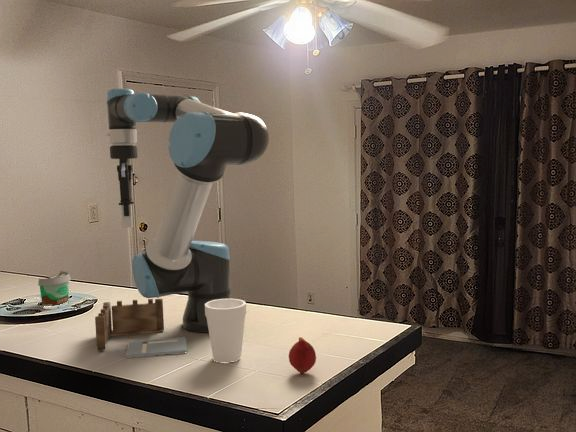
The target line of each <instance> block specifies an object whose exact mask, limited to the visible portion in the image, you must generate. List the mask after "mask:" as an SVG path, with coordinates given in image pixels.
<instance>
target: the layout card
mask: <svg viewBox="0 0 576 432" xmlns="http://www.w3.org/2000/svg"><path fill="white" fill-rule="evenodd" d="M127 344H128V345H127V350H126V354H125V357H126V359H132V358H131V357H135V358H143V357H144V358H145V356H147V357H154V356H155V355H159V356H166V355H165V354H171V355H176V354H175V353H183V354H186V353H185V352H187V353H188V349H187V337H186V336H181V337H179V336H178V337H168V338H156V339H155V338H154V339H143V340H131V341H129V342H128V343H127ZM155 357H156V356H155Z"/></svg>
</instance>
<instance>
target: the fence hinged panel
mask: <svg viewBox="0 0 576 432" xmlns="http://www.w3.org/2000/svg"><path fill="white" fill-rule="evenodd" d="M94 323H95V325H94V326H95V337H96V338H95V339H96V342H95V343H96V350H97V351H100V352H101V351H105V350H106V344H107V342H108V339H109V338H110V336H109V335H110V320H109V308H108V305H103V304H102V308H101V309H100V313H98V314H97V315H96V316H95V317H94Z"/></svg>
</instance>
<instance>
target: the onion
mask: <svg viewBox="0 0 576 432" xmlns="http://www.w3.org/2000/svg"><path fill="white" fill-rule="evenodd" d="M316 354H317V353H316V351H315V349H314V346H313V345H312V344H311V343H309V342H308V341H306V340H305V339H304V338H303V337H302V336H300V337H298V341H297V342H295V343H294V344H293V345H292V346H291V348H290V350H289V352H288V359H289V360H288V361H289V364H290V366H291V367H293V368H294V369H295V371H297V372H298V373H299V372H300V373H299V374H301V373H304V372H305V373H308V371H310V370H311V369H312V368H313V367H314V366H315V363H316V361H317V356H316ZM305 373H304V374H305Z"/></svg>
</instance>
